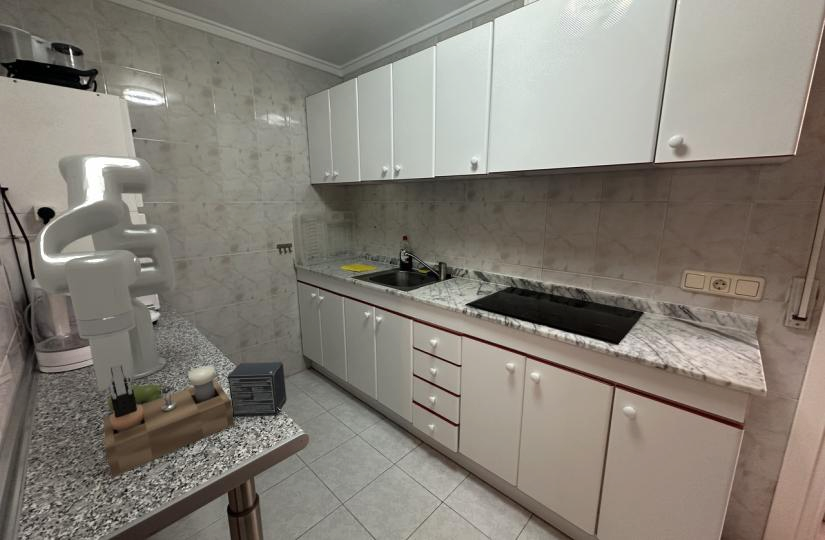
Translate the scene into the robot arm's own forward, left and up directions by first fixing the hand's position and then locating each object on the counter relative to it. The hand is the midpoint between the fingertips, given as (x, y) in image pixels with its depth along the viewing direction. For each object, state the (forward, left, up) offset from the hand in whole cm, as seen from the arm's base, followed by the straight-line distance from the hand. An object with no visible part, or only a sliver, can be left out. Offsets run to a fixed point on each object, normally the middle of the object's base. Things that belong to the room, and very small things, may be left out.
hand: (126, 412), depth 62 cm
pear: (-19, +2, -9) cm, 21 cm away
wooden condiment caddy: (0, +7, -9) cm, 11 cm away
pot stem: (0, +7, -3) cm, 7 cm away
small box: (+4, +23, -9) cm, 25 cm away
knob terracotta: (0, 0, -8) cm, 8 cm away
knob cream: (0, +13, -4) cm, 14 cm away
